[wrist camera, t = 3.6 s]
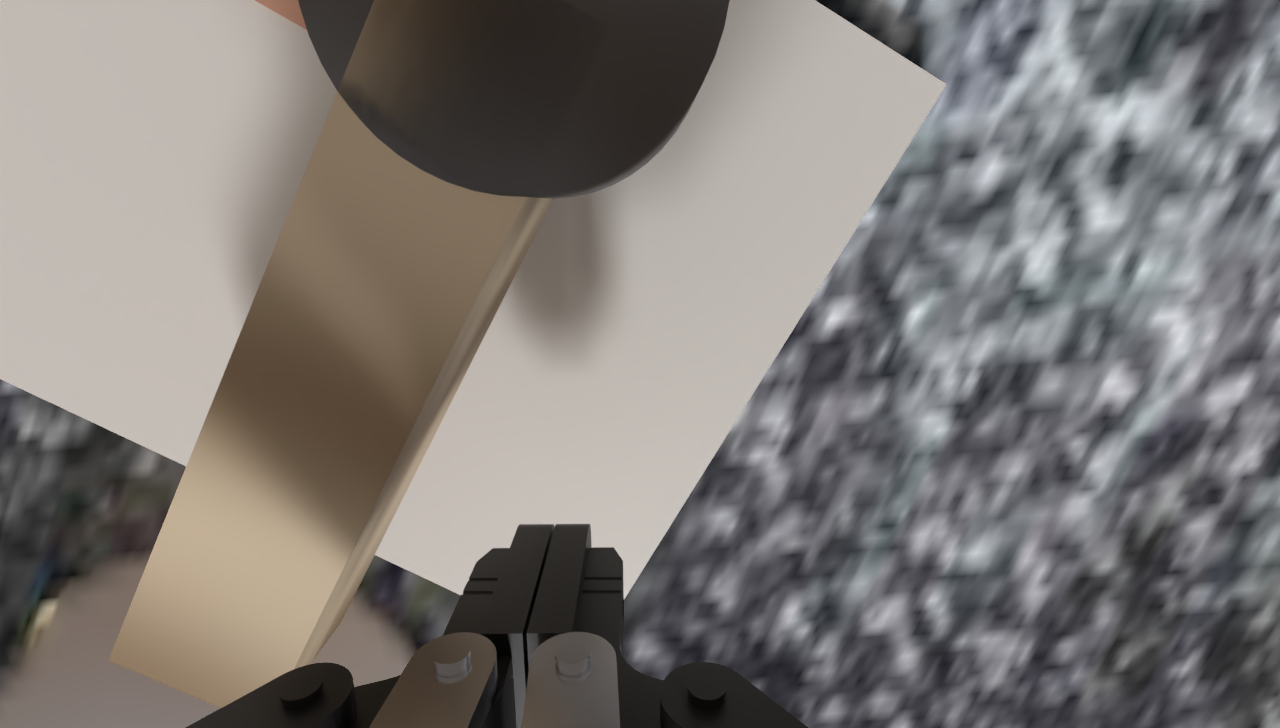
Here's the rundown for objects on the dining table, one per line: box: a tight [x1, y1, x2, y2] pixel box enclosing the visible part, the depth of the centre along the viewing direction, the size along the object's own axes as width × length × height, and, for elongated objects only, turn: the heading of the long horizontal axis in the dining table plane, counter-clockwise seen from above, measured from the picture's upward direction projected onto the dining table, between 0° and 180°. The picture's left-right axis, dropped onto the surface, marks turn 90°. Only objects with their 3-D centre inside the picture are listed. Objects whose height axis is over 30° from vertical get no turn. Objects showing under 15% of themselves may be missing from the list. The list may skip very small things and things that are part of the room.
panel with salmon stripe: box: [0, 0, 947, 599], centre depth 15 cm, size 18×22×4 cm
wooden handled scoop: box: [108, 0, 730, 708], centre depth 11 cm, size 16×6×3 cm, turn 151°
